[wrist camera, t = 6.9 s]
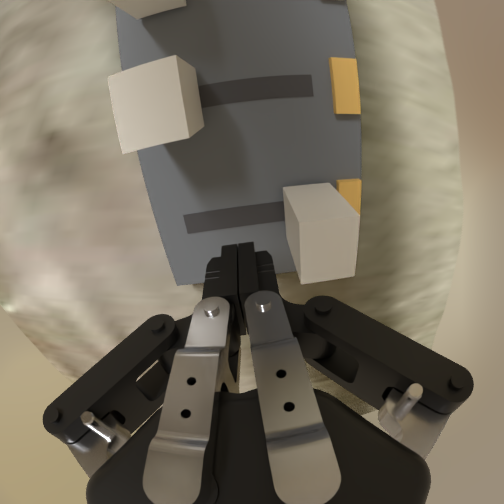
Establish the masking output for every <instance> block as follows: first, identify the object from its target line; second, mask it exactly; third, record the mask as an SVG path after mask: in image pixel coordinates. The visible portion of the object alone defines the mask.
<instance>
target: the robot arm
mask: <svg viewBox="0 0 504 504" xmlns="http://www.w3.org/2000/svg"><path fill="white" fill-rule="evenodd" d="M246 328H247V332H248V334H249V337H250V343H251V354H252V360H253V366H254V372H255V378H256V384H257V389H254V390H251V391H248V392H245V393H239V379H240V362H241V347H240V345H241V337H240V335H246ZM304 359H305V361H306V362H307V363H308V364H310V365H311V366H312V367H314V368H315V369H317V370H318V371H320V372H321V373H323V374H324V375H326V376H327V377H328V378H330V379H331V380H333V381H334V382H336V383H337V384H339V385H340V386H342V387H343V388H345V389H346V390H348V391H349V392H351V393H353V394H354V395H356V396H357V397H359V398H360V399H362V400H363V401H365V402H367V403H368V404H370V405H371V406H373V407H375V408H376V409H378V410H379V413H378V420H379V422H380V425H381V426H382V427H383V428H384V429H385V430H386V431H387V432H388V433H389V434H390V436H389V435H388V434H386V433H385V432H383V431H382V430H380V429H379V428H377V427H376V426H374V425H373V424H372V423H370V422H369V421H367V420H366V419H364V418H363V417H362V416H360V415H359V414H357V413H356V412H355V411H353V410H352V409H350V408H349V407H348V406H346V405H345V404H344V403H342V402H341V401H339V400H338V399H337V398H335V397H334V396H332V395H330V394H328V393H326V392H324V391H321V390H317V389H313V387H312V384H311V381H310V378H309V374H308V371H307V368H306V365H305V362H304ZM156 360H158V362H157V363H156V364H155V365H154V366H153V367H152V368H151V369H150V370H149V371H148V372H147V373H146V374H144V375H143V376H142V377H141V378H140V379H139V380H138V381H137V382H136V380H137V378H138V377H139V376H140V375H141V374H142V373H143V372H144V371H145V370H147V369H148V368H149V367H150V366H151V365H152V364H153V363H154V362H155V361H156ZM473 385H474V384H473V378H472V376H471V374H470V372H469V371H468V370H467V369H466V368H464V367H462V366H461V365H459V364H457V363H455V362H453V361H451V360H449V359H447V358H446V357H444V356H442V355H440V354H438V353H436V352H434V351H432V350H430V349H429V348H427V347H425V346H423V345H421V344H419V343H417V342H415V341H413V340H412V339H410V338H408V337H406V336H404V335H402V334H400V333H398V332H397V331H395V330H393V329H391V328H389V327H387V326H385V325H383V324H382V323H380V322H378V321H376V320H374V319H372V318H370V317H368V316H367V315H365V314H363V313H361V312H359V311H357V310H355V309H353V308H352V307H350V306H348V305H346V304H344V303H342V302H340V301H338V300H337V299H335V298H332V297H329V296H316V297H313V298H311V299H310V300H308V301H307V302H306V304H305V305H300V304H293V303H290V302H287V301H286V300H284V299H283V298H282V297H281V295H280V293H279V289H278V284H277V279H276V274H275V269H274V264H273V259H272V256H271V255H270V254H269V253H268V252H267V251H266V250H265V251H257V252H255V247H254V241H252V242H245V243H238V245H237V244H231V245H224V246H222V247H221V257H213V258H211V260H210V261H209V262H208V264H207V267H206V274H205V281H204V288H203V296H202V301H200V302H199V303H198V304H197V305H196V306H195V308H194V312H193V314H192V315H190V316H188V317H186V318H183V319H180V320H177V321H174V319H173V318H172V317H171V316H169V315H166V314H159V315H155V316H153V317H151V318H149V319H148V320H147V321H145V322H144V323H143V324H142V325H141V326H140V327H138V328H137V329H136V330H135V331H134V332H132V333H131V334H130V335H129V336H128V337H127V338H125V339H124V340H123V341H122V342H121V343H120V344H118V345H117V346H116V347H115V348H114V349H113V350H111V351H110V352H109V353H108V354H107V355H106V356H104V357H103V358H102V359H101V360H100V361H99V362H98V363H96V364H95V365H94V366H93V367H92V368H91V369H89V370H88V371H87V372H86V373H85V374H84V375H83V376H81V377H80V378H79V379H78V380H77V381H76V382H75V383H73V384H72V385H71V386H70V387H69V388H68V389H67V390H66V391H64V392H63V393H62V394H61V395H60V396H59V397H58V398H56V399H55V400H54V401H53V402H52V403H51V404H50V405H49V406H48V407H47V408H46V410H45V412H44V414H43V425H44V427H45V429H46V430H47V431H48V432H49V433H51V434H52V435H54V436H55V437H57V438H58V439H60V440H61V441H62V442H63V443H65V444H66V445H67V446H68V447H69V449H70V450H71V452H72V454H73V455H74V457H75V458H76V459H77V461H78V463H79V464H80V465H81V467H82V468H83V470H84V471H85V472H86V474H87V475H88V476H89V478H90V480H89V482H88V484H87V489H86V499H87V504H425V502H426V499H427V496H428V493H429V489H430V484H431V475H430V470H429V468H428V466H427V463H426V462H425V459H426V457H427V456H428V454H429V453H430V451H431V449H432V448H433V446H434V444H435V443H436V441H437V439H438V437H439V436H440V434H441V432H442V430H443V428H444V426H445V424H446V422H447V420H448V419H449V417H450V415H451V414H452V413H453V412H454V411H455V410H456V409H457V408H458V407H459V406H460V405H461V404H462V403H464V402H465V400H466V399H467V398H468V397H469V396H470V395H471V393H472V391H473ZM162 404H163V406H162V407H161V408H160V409H158V408H159V407H160V406H161V405H162ZM157 409H158V410H157ZM156 410H157V411H156ZM155 411H156V412H155ZM154 412H155V413H154ZM153 413H154V414H153ZM152 414H153V415H152ZM151 415H152V416H151ZM150 416H151V417H150ZM149 417H150V418H149ZM148 418H149V419H148ZM147 419H148V420H147ZM146 420H147V421H146ZM145 421H146V422H145ZM143 422H145V423H144V424H143V425H142V426H141V427H140V428H139V429H138V431H137V432H136V433H135V434H134V435H133V436H132V437H131V434H132V433H133V432H134V431H135V430H136V429H137V428H138V427H139V426H140V425H141V424H142V423H143Z"/></svg>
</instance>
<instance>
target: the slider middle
mask: <svg viewBox="0 0 504 504" xmlns="http://www.w3.org/2000/svg"><path fill="white" fill-rule="evenodd" d="M107 78H108V84H109V90H110V96H111V102H112V108H113V113H114V118H115V123H116V128H117V132H118V137H119V141H120V146H121V150H122V154H126V153H129V152H133V151H136V150H140V149H144V148H148V147H152V146H156V145H160V144H164V143H169V142H173V141H178V140H182V139H187V138H190V137H191V136H193V135H194V134H195V133H196V132H198V131H199V130H200V129H202V128H203V127H204V120H203V114H202V108H201V102H200V96H199V89H198V83H197V76H196V70H195V68H194V67H193V66H191V65H190V64H188V63H187V62H186V61H184V60H183V59H181V58H180V57H178V56H177V55H174V56H170V57H166V58H162V59H158V60H155V61H152V62H148V63H145V64H142V65H139V66H136V67H133V68H130V69H127V70H124V71H121V72H119V73H116V74H113V75H111V76H108V77H107Z"/></svg>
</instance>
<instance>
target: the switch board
mask: <svg viewBox="0 0 504 504" xmlns="http://www.w3.org/2000/svg"><path fill="white" fill-rule="evenodd" d="M186 5H187V6H183V7H179V8H175V9H171V10H167V11H163V12H160V13H156V14H153V15H150V16H147V17H143V18H140V19H136V18H134V17H133V16H131V15H129V14H128V13H126V12H125V11H123V10H122V9H120V8H119V7H117V6H116V21H117V32H118V42H119V51H120V59H121V67H122V71H124V70H127V69H130V68H133V67H136V66H139V65H142V64H145V63H148V62H152V61H155V60H158V59H162V58H166V57H170V56H174V55H177V56H178V57H180V58H181V59H183V60H184V61H186V62H187V63H188V64H190V65H191V66H193V67H194V68H195V70H196V76H197V83H198V89H199V96H200V102H201V108H202V114H203V120H204V127H203V128H202V129H200V130H199V131H198V132H196V133H195V134H194V135H193V136H191V137H190V138H187V139H182V140H178V141H173V142H169V143H164V144H160V145H156V146H152V147H148V148H144V149H140V150H137V152H138V156H139V161H140V165H141V169H142V173H143V177H144V181H145V184H146V188H147V192H148V196H149V199H150V203H151V206H152V210H153V213H154V217H155V220H156V223H157V227H158V230H159V233H160V236H161V239H162V243H163V246H164V249H165V252H166V255H167V258H168V261H169V264H170V267H171V270H172V273H173V275H174V278H175V281H176V284H177V286H179V285H188V284H197V283H204V281H205V274H206V267H207V264H208V262H209V261H210V260H211V258H213V257H221V247H222V246H224V245H231V244H237V245H238V243H245V242H252V241H254V247H255V252H257V251H265V250H266V251H267V252H268V253H269V254H270V255H271V256H272V259H273V264H274V269H275V274H278V273H286V272H293V271H297V270H296V267H295V263H294V260H293V257H292V254H291V251H290V247H289V244H288V241H287V238H286V224H285V211H284V198H283V187H288V186H298V185H308V184H319V183H330V184H331V185H332V186H333V187H334V188H335V189H336V190H337V191H338V192H339V193H340V194H341V195H342V196H343V198H344V199H345V200H346V201H347V202H348V203H349V204H350V205H351V206H352V207H353V208H354V209H355V211H356V212H357V213H358V214H359V215H360V207H361V183H362V181H361V116H360V114H361V108H360V93H359V81H358V71H357V62H356V57H355V50H354V42H353V36H352V30H351V24H350V18H349V13H348V8H347V3H346V0H186Z"/></svg>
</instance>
